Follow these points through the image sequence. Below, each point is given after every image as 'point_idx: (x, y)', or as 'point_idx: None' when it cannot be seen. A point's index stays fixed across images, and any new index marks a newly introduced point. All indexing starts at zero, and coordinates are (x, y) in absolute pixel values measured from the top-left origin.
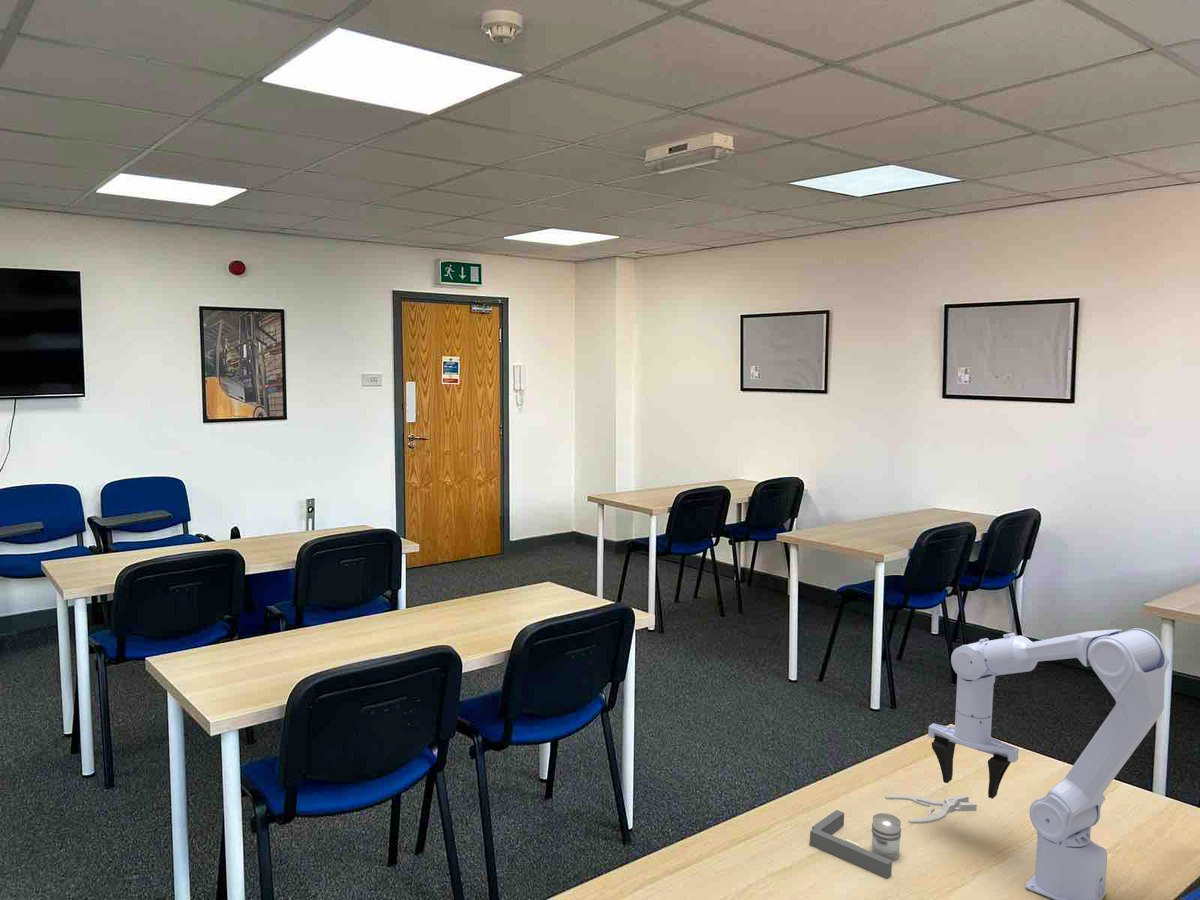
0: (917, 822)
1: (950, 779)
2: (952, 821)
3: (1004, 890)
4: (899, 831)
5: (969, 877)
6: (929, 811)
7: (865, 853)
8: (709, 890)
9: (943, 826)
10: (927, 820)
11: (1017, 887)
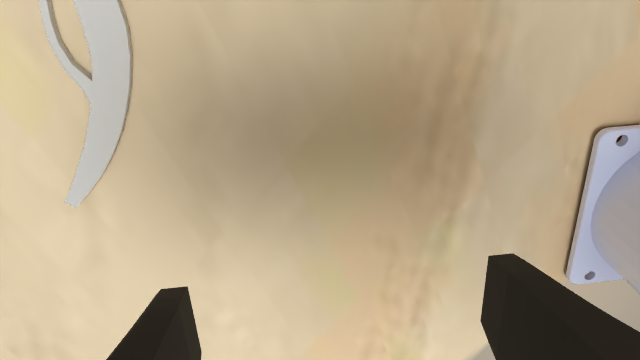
0: (96, 182)
1: (189, 312)
2: (179, 36)
3: None
4: None
5: (412, 339)
6: (56, 52)
7: None
8: None
9: (181, 115)
10: (113, 143)
11: None
